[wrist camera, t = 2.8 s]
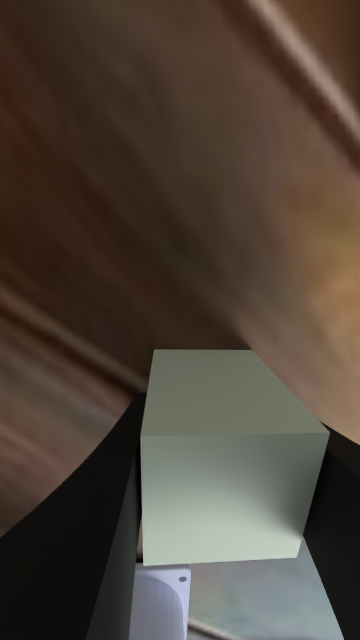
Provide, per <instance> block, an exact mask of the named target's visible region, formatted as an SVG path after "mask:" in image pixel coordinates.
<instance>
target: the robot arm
mask: <svg viewBox="0 0 360 640" xmlns="http://www.w3.org/2000/svg"><path fill="white" fill-rule="evenodd" d="M146 397H147V393H137V394H136V395H135V397H134V398H133V400H132V402H131V403H130V405H129V406H128V408H127V409H126V411H125V412H124V413H123V415H122V416H121V418H120V419H119V420H118V422H117V423H116V424H115V426H114V427H113V428H112V429H111V431H110V432H109V433H108V434H107V436H106V437H105V438H104V439H103V440H102V442H101V443H100V444H99V445H98V446H97V447H96V449H95V450H94V451H93V452H92V453H91V454H90V455H89V456H88V458H87V459H86V460H85V461H84V462H83V463H82V464H81V465H80V466H79V467H78V468H77V469H76V470H75V471H74V472H73V473H72V474H71V475H70V476H69V477H68V478H67V479H66V480H65V481H64V482H63V483H62V484H61V485H60V486H59V487H58V488H57V489H55V490H54V491H53V492H52V493H51V494H50V495H49V496H48V497H47V498H46V499H45V500H44V501H43V502H41V503H40V504H39V505H38V506H37V507H36V508H35V509H34V510H32V511H31V512H30V513H29V514H28V515H27V516H25V517H24V518H23V519H22V520H21V521H19V522H18V523H17V524H16V525H15V526H13V527H12V528H11V529H10V530H9V531H7V532H6V533H5V534H4V535H3V536H1V537H0V640H186V636H187V622H188V607H189V593H190V578H191V567H190V564H189V563H187V564H169V565H151V566H143V563H136V554H137V544H138V536H139V529H140V522H141V516H142V482H141V439H140V436H141V429H142V423H143V417H144V410H145V404H146ZM320 422H321V421H320ZM321 424H322V425H323V426H324V427H325V428H326V429H327V430H328V431H329V432H330V435H329V438H328V442H327V446H326V450H325V453H324V457H323V461H322V465H321V468H320V472H319V476H318V480H317V483H316V487H315V491H314V495H313V498H312V502H311V506H310V509H309V513H308V517H307V521H306V524H305V528H304V532H303V537H304V539H305V542H306V544H307V546H308V549H309V551H310V554H311V556H312V559H313V561H314V563H315V566H316V568H317V571H318V573H319V576H320V578H321V581H322V583H323V586H324V588H325V591H326V593H327V596H328V598H329V601H330V604H331V606H332V609H333V611H334V614H335V616H336V619H337V621H338V624H339V627H340V629H341V632H342V635H343V637H344V640H360V445H358V444H357V443H355V442H353V441H351V440H350V439H348V438H346V437H345V436H343V435H341V434H340V433H338V432H336V431H335V430H333V429H332V428H330V427H328V426H327V425H325V424H324V423H322V422H321Z"/></svg>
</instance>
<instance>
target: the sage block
mask: <svg viewBox="0 0 360 640" xmlns="http://www.w3.org/2000/svg"><path fill="white" fill-rule="evenodd" d="M329 435H330V432H329V431H328V430H327V429H326V428H325V427H324V426H323V425H322V424H321V422H320V421H319V420H318V419H317V418H316V417H315V416H314V415H313V414H312V413H311V412H310V411H309V410H308V409H307V408H306V407H305V406H304V404H303V403H302V402H301V401H300V400H299V399H298V398H297V397H296V396H295V395H294V394H293V393H292V392H291V391H290V390H289V389H288V388H287V386H286V385H285V384H284V383H283V382H282V381H281V380H280V379H279V378H278V377H277V376H276V375H275V374H274V373H273V372H272V371H271V370H270V368H269V367H268V366H267V365H266V364H265V363H264V362H263V361H262V360H261V359H260V358H259V357H258V356H257V355H256V354H255V353H254V352H253V350H171V349H154V353H153V359H152V365H151V372H150V378H149V385H148V391H147V397H146V404H145V410H144V417H143V423H142V429H141V436H140V439H141V482H142V525H143V566H151V565H169V564H187V563H205V562H223V561H241V560H259V559H277V558H295V557H297V554H298V551H299V547H300V543H301V539H302V536H303V532H304V528H305V524H306V521H307V517H308V513H309V509H310V506H311V502H312V498H313V495H314V491H315V487H316V483H317V480H318V476H319V472H320V468H321V465H322V461H323V457H324V453H325V450H326V446H327V442H328V438H329Z"/></svg>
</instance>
